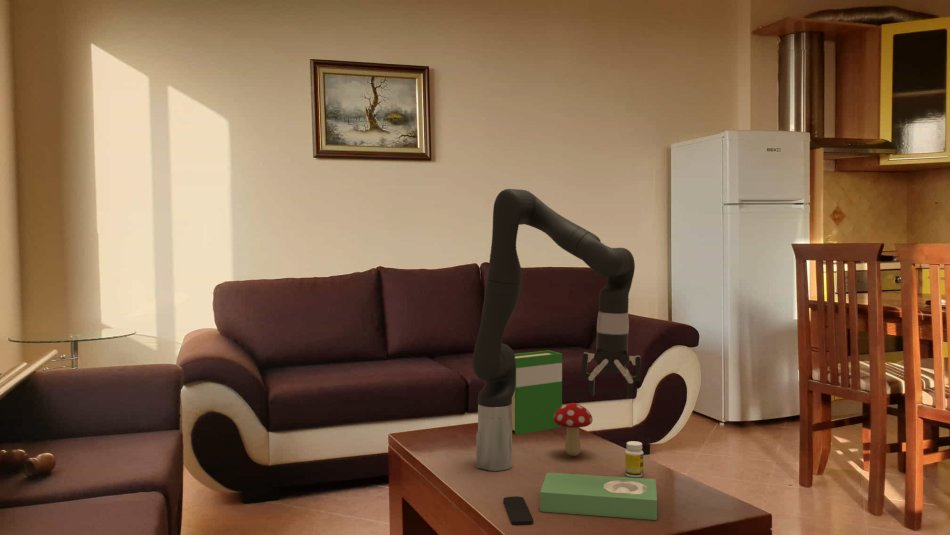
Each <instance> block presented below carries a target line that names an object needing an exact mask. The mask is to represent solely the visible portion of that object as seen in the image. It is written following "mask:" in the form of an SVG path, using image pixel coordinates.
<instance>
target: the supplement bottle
mask: <svg viewBox="0 0 950 535" xmlns="http://www.w3.org/2000/svg"><path fill="white" fill-rule="evenodd" d="M624 455H625V456H624V474H625V476H626V477H628V478H642V477H643V476H644V455H645V454H644V451H643V443H642V442H640V441H634V440H633V441H632V440H631V441H630V440H629V441H627V442H626V449H625V451H624Z"/></svg>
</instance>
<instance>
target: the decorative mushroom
mask: <svg viewBox="0 0 950 535" xmlns="http://www.w3.org/2000/svg"><path fill="white" fill-rule="evenodd" d="M554 422H555V423H556V424H558V425H560V426H562V427H564V428H566V440H565V445H564V446H565V452H566V454H567V455H569V456H570V457H576V456H578V455H579V454H580V453H581V448H582V446H581V441H580V428H584V427H589V426H590V425H591V424H592V423H593V416H592V414H591V413H590V411H589V410H588V409H587V408H586V407H584V406H583V405H581V404H578V403H576V402H575V403H572V402H571V403H567V404H564V405H562V407H561V408H559V409H558V410H557V412H556V413H555V415H554Z"/></svg>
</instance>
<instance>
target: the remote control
mask: <svg viewBox="0 0 950 535" xmlns="http://www.w3.org/2000/svg"><path fill="white" fill-rule="evenodd" d="M502 502H503V503H502V504H503V505H505V506H504V507H505V511H506V512H507V516H508V518H509V522H510V524H511V525H512V526H514V525H515V526H517V527H518V526H533V525H534V517H533V515H532V513H531V511H530V509H529V507H528V505H527V503H526V500H525V498H524V496H518V495H517V496H506V497H503V501H502Z"/></svg>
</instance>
